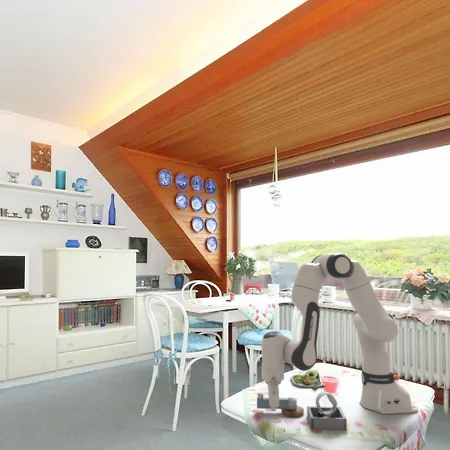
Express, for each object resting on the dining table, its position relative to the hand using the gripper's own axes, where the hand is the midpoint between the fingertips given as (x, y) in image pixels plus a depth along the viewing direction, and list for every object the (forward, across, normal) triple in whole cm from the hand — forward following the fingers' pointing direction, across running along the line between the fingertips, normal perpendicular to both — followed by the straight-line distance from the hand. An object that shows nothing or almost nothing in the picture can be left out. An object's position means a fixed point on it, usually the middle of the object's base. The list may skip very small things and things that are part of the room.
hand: (273, 409), depth 152 cm
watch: (+3, -3, -20) cm, 21 cm away
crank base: (+4, +7, -8) cm, 11 cm away
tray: (+4, -2, -20) cm, 20 cm away
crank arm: (+2, +7, -2) cm, 7 cm away
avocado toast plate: (+4, +45, -20) cm, 50 cm away
